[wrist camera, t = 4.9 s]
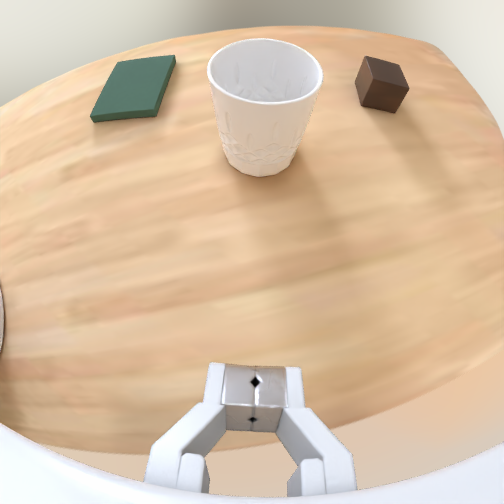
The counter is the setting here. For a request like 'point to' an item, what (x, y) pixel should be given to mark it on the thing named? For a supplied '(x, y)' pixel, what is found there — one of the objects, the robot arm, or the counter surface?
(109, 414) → the counter surface
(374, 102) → the walnut block
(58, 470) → the robot arm
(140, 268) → the counter surface
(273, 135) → the white cup
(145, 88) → the flat green block
